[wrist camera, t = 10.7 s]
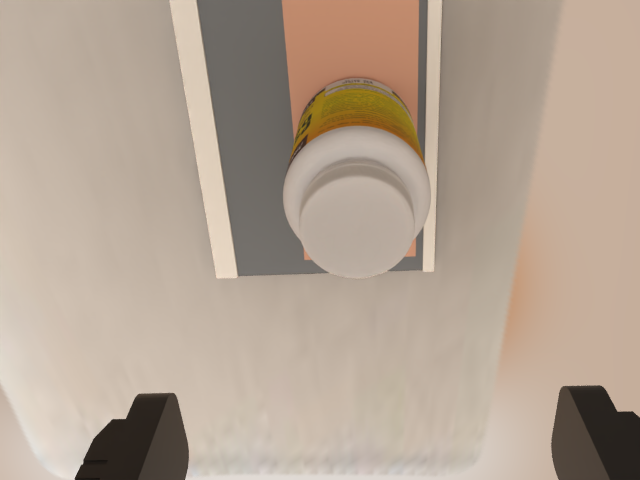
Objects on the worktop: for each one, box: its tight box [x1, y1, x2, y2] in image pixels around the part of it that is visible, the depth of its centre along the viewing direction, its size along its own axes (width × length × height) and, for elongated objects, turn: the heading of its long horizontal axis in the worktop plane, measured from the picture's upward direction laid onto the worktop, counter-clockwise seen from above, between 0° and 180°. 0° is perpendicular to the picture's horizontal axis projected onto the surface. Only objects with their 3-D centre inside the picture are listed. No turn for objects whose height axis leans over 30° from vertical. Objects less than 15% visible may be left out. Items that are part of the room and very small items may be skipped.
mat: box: [169, 0, 442, 279], centre depth 30 cm, size 12×16×1 cm
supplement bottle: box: [283, 78, 431, 279], centre depth 25 cm, size 6×6×10 cm
